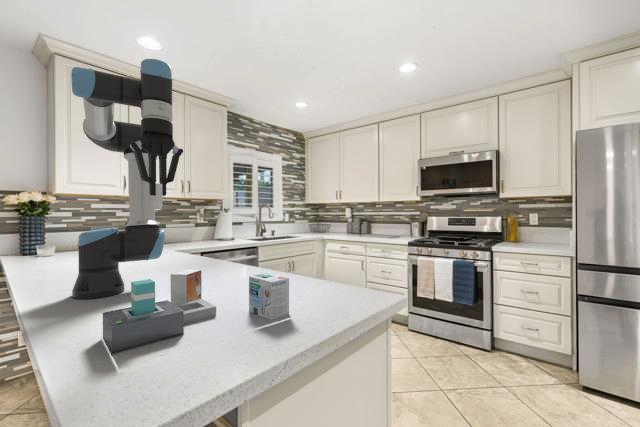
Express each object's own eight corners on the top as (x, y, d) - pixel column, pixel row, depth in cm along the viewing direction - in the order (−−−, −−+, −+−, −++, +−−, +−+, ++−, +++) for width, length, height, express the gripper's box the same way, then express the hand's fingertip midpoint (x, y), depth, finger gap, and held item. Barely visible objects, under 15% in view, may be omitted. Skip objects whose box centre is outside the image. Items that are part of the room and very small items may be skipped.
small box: (186, 309, 90) (186, 274, 90) (170, 308, 91) (169, 274, 91) (202, 301, 97) (202, 269, 97) (186, 300, 99) (186, 269, 98)
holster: (166, 316, 84) (166, 306, 83) (201, 308, 90) (201, 298, 90) (178, 327, 76) (178, 315, 76) (216, 317, 83) (216, 306, 83)
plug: (131, 333, 70) (130, 281, 70) (150, 328, 73) (150, 279, 73) (135, 338, 67) (134, 285, 67) (155, 333, 70) (155, 282, 70)
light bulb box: (248, 313, 87) (247, 275, 86) (267, 307, 91) (266, 272, 91) (271, 322, 79) (270, 281, 79) (290, 315, 84) (290, 277, 84)
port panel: (102, 338, 70) (102, 310, 70) (167, 322, 79) (167, 298, 79) (112, 356, 61) (111, 325, 61) (183, 336, 70) (183, 309, 70)
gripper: (132, 111, 74) (133, 207, 74) (187, 122, 83) (187, 208, 83) (126, 118, 79) (126, 208, 79) (178, 127, 88) (178, 208, 88)
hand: (158, 207), depth 81 cm, fingers closed
